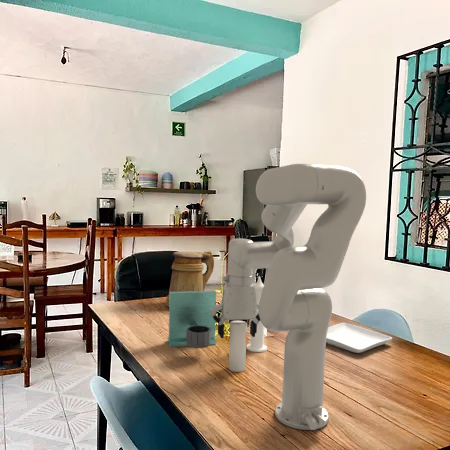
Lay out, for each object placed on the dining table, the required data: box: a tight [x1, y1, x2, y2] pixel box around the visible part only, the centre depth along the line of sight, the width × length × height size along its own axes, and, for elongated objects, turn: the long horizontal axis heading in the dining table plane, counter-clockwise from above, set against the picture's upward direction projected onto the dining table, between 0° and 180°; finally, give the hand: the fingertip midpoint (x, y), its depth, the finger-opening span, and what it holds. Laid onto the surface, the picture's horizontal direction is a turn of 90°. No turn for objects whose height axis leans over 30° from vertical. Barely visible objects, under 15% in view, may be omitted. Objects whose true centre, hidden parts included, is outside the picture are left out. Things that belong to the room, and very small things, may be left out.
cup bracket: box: [167, 290, 217, 349], centre depth 145 cm, size 20×16×18 cm
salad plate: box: [326, 322, 393, 354], centre depth 158 cm, size 21×21×3 cm
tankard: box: [165, 250, 215, 308], centre depth 202 cm, size 18×24×25 cm
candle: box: [246, 276, 268, 353], centre depth 148 cm, size 7×7×25 cm
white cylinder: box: [228, 320, 248, 373], centre depth 131 cm, size 5×5×14 cm
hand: (237, 336), depth 132 cm, fingers open, 9 cm apart
